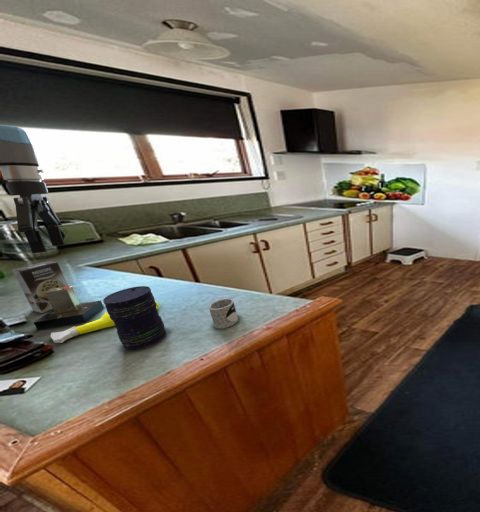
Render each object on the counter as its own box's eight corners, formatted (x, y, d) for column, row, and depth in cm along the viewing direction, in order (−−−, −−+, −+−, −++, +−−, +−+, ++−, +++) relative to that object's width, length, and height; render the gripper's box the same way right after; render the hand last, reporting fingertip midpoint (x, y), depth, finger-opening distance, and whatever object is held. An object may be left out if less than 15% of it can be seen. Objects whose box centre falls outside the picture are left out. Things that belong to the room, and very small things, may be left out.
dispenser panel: (37, 330, 85) (32, 321, 84) (61, 314, 94) (57, 306, 93) (85, 322, 89) (81, 314, 88) (104, 307, 98) (100, 299, 97)
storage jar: (157, 346, 75) (139, 299, 70) (115, 354, 73) (92, 306, 68) (172, 326, 84) (157, 283, 79) (135, 333, 82) (116, 289, 77)
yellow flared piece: (161, 309, 95) (57, 350, 76) (150, 301, 101) (51, 337, 82) (158, 302, 94) (52, 341, 75) (147, 294, 100) (46, 329, 81)
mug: (233, 326, 83) (228, 308, 81) (210, 329, 82) (204, 310, 80) (244, 310, 92) (239, 292, 90) (223, 312, 92) (218, 294, 89)
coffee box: (42, 313, 95) (19, 271, 90) (32, 310, 97) (9, 269, 92) (76, 301, 103) (57, 261, 98) (67, 298, 105) (48, 260, 100)
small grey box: (55, 313, 89) (43, 291, 86) (61, 310, 91) (49, 288, 88) (77, 310, 90) (66, 288, 87) (82, 307, 92) (71, 285, 89)
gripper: (22, 179, 75) (49, 253, 80) (60, 182, 95) (80, 241, 100) (-22, 180, 71) (10, 258, 76) (28, 182, 91) (50, 244, 96)
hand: (50, 248), depth 88 cm, fingers open, 13 cm apart
